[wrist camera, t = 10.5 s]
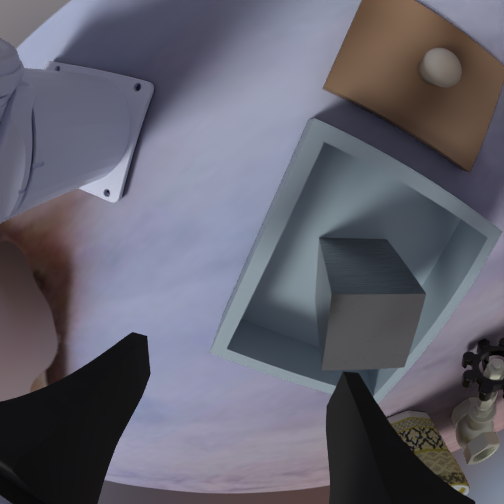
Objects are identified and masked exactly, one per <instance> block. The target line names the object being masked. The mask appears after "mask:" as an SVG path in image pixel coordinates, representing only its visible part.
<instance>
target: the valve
mask: <svg viewBox="0 0 504 504" xmlns="http://www.w3.org/2000/svg"><path fill="white" fill-rule="evenodd" d="M489 344H490V343H489V341H488V340H486V339H482V340H480V341H479V342H478V346H477V353H478V354H474V353H473V352H466V353H464V355H463V359H462V366H463V367H464V368H466V367H467V365H471V366H472V370H467V371H465V372H464V373H463V377H462V382H461V383H462V386H463V387H466V388H469V387H471V383H473V382H475V381H476V383H477V384H479V385H480V386H479V389H478V392H479V394H478V397H477V398H467V399H466V400H464V401H463V402H462V403H460V404H459V405H457V406H456V407H455V408H454V409H453V412H452V416H451V420H452V422H453V425H454V428H455V429H456V440H457V442H458V444H459V445H460V447H462V448H463V449H464V452H463V453H464V457H465V460H466V463H467V464H476V463H479V462H481V461H483V460H485V459H487V458H488V457H490V456H491V455H492V454H493V453H495V452H496V450H497V449H498V447H499V445H500V441H499V438H498V436H497V434H496V431H494V424H493V418H494V416H495V414H496V405H495V404H494V402H495V400H496V397H497V394H498V392H497V391H498V390H502V389H503V392H504V362H503V360H502V359H492V360H491V361H490V362H489V357H490V356H492V355H499V356H503V357H504V338H501V339H500V341H499V345H498V346H490V345H489ZM481 361H482V367H483V370H484V375H483V374H482V373H481V372H480V370H479V363H480V362H481ZM503 398H504V394H503ZM493 431H494V432H493Z"/></svg>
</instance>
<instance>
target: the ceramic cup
mask: <svg viewBox="0 0 504 504" xmlns="http://www.w3.org/2000/svg"><path fill="white" fill-rule="evenodd" d="M387 419H388V421H389V422H390V424H391V425H392V427H393V428H394V429H395V431H396V432H397V433H398V435H399V436H400V437H401V438H402V440H403V441H404V442H405V443H406V445H407V446H408V447H409V448H410V449H411V450H412V451H413V452H414V454H415V455H416V456H417V457H418V458H419V459H420V460H421V461H422V462H423V463H424V464H425V465H426V466H427V467H428V468H430V469H431V470H432V471H433V472H434V473H435V474H436V475H437V476H439V477H440V478H441V479H442V480H444V481H445V482H446V483H448V484H449V485H450V486H452V487H453V488H454V489H456V490H457V491H459V492H461V493H462V494H464V495H465V496H466V495H467V494H468V492H469V490H470V487H469V484H468V482H467V480H466V478H465V476H464V474H463V472H462V470H461V468H460V467H459V465H458V463H457V461H456V460H455V458H454V457H453V455H452V454H451V453H450V451H449V450H448V448H447V446H446V444H445V442H444V441H443V439H442V437H441V435H440V434H439V432H438V430H437V429H436V427H435V425H434V423H433V421H432V420H431V418H430V417H429V415H428V414H427V413H426V412H417V411H409V410H407V411H404V412H402V413H399V414H396V415H394V416H391V417H388V418H387Z"/></svg>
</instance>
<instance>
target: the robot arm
mask: <svg viewBox="0 0 504 504" xmlns="http://www.w3.org/2000/svg"><path fill="white" fill-rule="evenodd" d="M59 67H60V70H59V71H58V69H59ZM138 84H141V89H140V90H139V91H137V89H136V87H137V85H138ZM153 92H154V85H153V84H152V83H151V82H148V81H145V80H141V79H137V78H133V77H129V76H125V75H120V74H116V73H112V72H107V71H102V70H97V69H93V68H87V67H82V66H77V65H71V64H65V63H59V62H52V61H50V62H48V63H47V64H46V65H45V67H44V70H42V69H28V68H24V66H23V64H22V62H21V60H20V58H19V55H18V52H17V50H16V49H15V47H14V46H12V45H11V44H10V43H8V42H7V41H5V40H3V39H1V38H0V223H2V222H4V221H6V220H8V219H10V218H12V217H14V216H16V215H18V214H20V213H22V212H25V211H27V210H29V209H31V208H33V207H35V206H37V205H40V204H42V203H44V202H46V201H49V200H51V199H53V198H56V197H58V196H60V195H63V194H65V193H67V192H70V191H72V190H75V189H77V188H79V189H81V190H84V191H86V192H88V193H91V194H93V195H95V196H98V197H100V198H102V199H105V200H107V201H109V202H112V203H116V202H118V201H120V200H121V198H122V194H123V190H124V186H125V182H126V178H127V175H128V171H129V167H130V163H131V160H132V156H133V153H134V150H135V146H136V143H137V140H138V136H139V133H140V130H141V127H142V124H143V121H144V118H145V115H146V112H147V109H148V106H149V103H150V100H151V97H152V95H153ZM107 189H108V190H109V191H110V195H108V194H107ZM149 377H150V364H149V353H148V341H147V336H145V335H141V334H137V333H134V332H132V333H130V334H129V335H128V336H126V337H125V338H123V339H122V340H121V341H119V342H118V343H116V344H115V345H114V346H112V347H111V348H110V349H108V350H107V351H105V352H104V353H103V354H101V355H100V356H98V357H97V358H95V359H94V360H92V361H91V362H90V363H88V364H86V365H85V366H83V367H82V368H80V369H78V370H77V371H75V372H74V373H72V374H70V375H68V376H67V377H65V378H63V379H61V380H59V381H57V382H55V383H53V384H51V385H49V386H47V387H44V388H42V389H39V390H37V391H34V392H31V393H29V394H26V395H23V396H20V397H17V398H13V399H10V400H6V401H1V402H0V504H97V503H98V500H99V496H100V493H101V489H102V485H103V482H104V479H105V476H106V473H107V470H108V467H109V464H110V461H111V459H112V456H113V453H114V450H115V448H116V445H117V443H118V441H119V439H120V437H121V435H122V433H123V431H124V429H125V428H126V426H127V424H128V422H129V420H130V418H131V416H132V414H133V413H134V411H135V409H136V407H137V405H138V403H139V401H140V399H141V397H142V395H143V393H144V390H145V388H146V385H147V382H148V379H149ZM326 436H327V448H328V459H329V471H330V500H329V504H475V501H474V500H472V499H470V498H468V497H467V496H465V495H464V494H462V493H461V492H459V491H457V490H456V489H454V488H453V487H452V486H450V485H449V484H448V483H446V482H445V481H444V480H442V479H441V478H440V477H439V476H437V475H436V474H435V473H434V472H433V471H432V470H431V469H430V468H428V467H427V466H426V465H425V464H424V463H423V462H422V461H421V460H420V459H419V458H418V457H417V456H416V455H415V454H414V452H413V451H412V450H411V449H410V448H409V447H408V446H407V445H406V443H405V442H404V441H403V440H402V438H401V437H400V436H399V435H398V433H397V432H396V431H395V429H394V428H393V427H392V425H391V424H390V422H389V421H388V419H387V418H386V416H385V415H384V413H383V412H382V410H381V409H380V407H379V406H378V404H377V402H376V401H375V399H374V397H373V396H372V394H371V393H370V391H369V389H368V388H367V386H366V384H365V383H364V381H363V379H362V378H361V376H360V374H359V373H356V372H345V371H343V372H342V375H341V377H340V379H339V381H338V383H337V386H336V388H335V390H334V392H333V394H332V396H331V398H330V401H329V403H328V405H327V414H326Z"/></svg>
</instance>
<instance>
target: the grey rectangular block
mask: <svg viewBox="0 0 504 504" xmlns="http://www.w3.org/2000/svg"><path fill="white" fill-rule="evenodd" d="M425 297H426V293H425V291H424V290H423V288H422V287H421V285H420V284H419V282H418V281H417V279H416V278H415V277H414V275H413V274H412V272H411V271H410V270H409V268H408V267H407V265H406V264H405V263H404V261H403V260H402V259H401V257H400V256H399V255H398V253H397V252H396V250H395V249H394V248H393V247H392V245H391V244H390V243H389V241H388V240H387V239H364V238H323V237H319V243H318V260H317V275H316V289H315V307H316V316H317V326H318V336H319V346H320V357H321V369H322V371H328V370H368V369H387V368H402V367H405V364H406V361H407V358H408V355H409V352H410V349H411V346H412V343H413V340H414V336H415V333H416V330H417V326H418V323H419V319H420V316H421V312H422V309H423V305H424V301H425Z"/></svg>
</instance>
